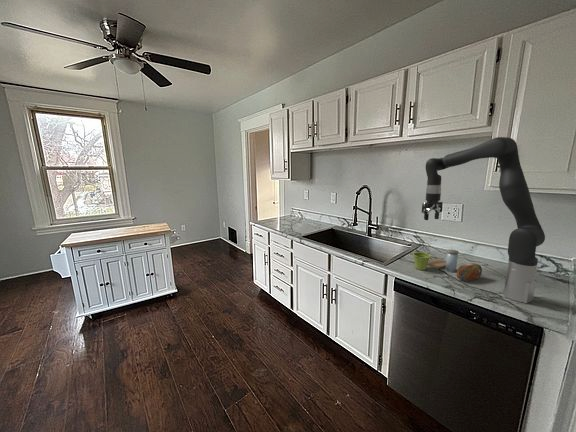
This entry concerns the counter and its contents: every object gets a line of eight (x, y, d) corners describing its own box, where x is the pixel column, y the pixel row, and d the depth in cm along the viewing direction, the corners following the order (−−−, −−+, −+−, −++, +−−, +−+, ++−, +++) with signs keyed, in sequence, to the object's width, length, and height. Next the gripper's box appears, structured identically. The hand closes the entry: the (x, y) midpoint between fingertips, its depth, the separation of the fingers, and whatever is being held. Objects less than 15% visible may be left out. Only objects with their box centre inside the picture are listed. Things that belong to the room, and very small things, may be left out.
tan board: (452, 265, 148) (452, 263, 147) (439, 269, 143) (439, 267, 142) (436, 260, 156) (436, 258, 156) (423, 263, 152) (424, 261, 151)
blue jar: (458, 271, 139) (460, 251, 137) (452, 273, 137) (454, 253, 135) (448, 267, 144) (450, 248, 142) (442, 269, 142) (444, 250, 140)
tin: (460, 282, 126) (461, 267, 125) (454, 279, 129) (456, 265, 128) (481, 278, 130) (483, 263, 128) (475, 275, 133) (477, 261, 131)
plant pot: (411, 270, 143) (413, 256, 141) (411, 264, 151) (412, 251, 149) (430, 272, 139) (431, 258, 137) (428, 266, 147) (430, 253, 145)
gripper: (430, 193, 136) (428, 221, 139) (447, 192, 141) (445, 219, 144) (419, 192, 143) (417, 219, 146) (436, 192, 148) (434, 217, 151)
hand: (431, 219), depth 145 cm, fingers open, 8 cm apart
